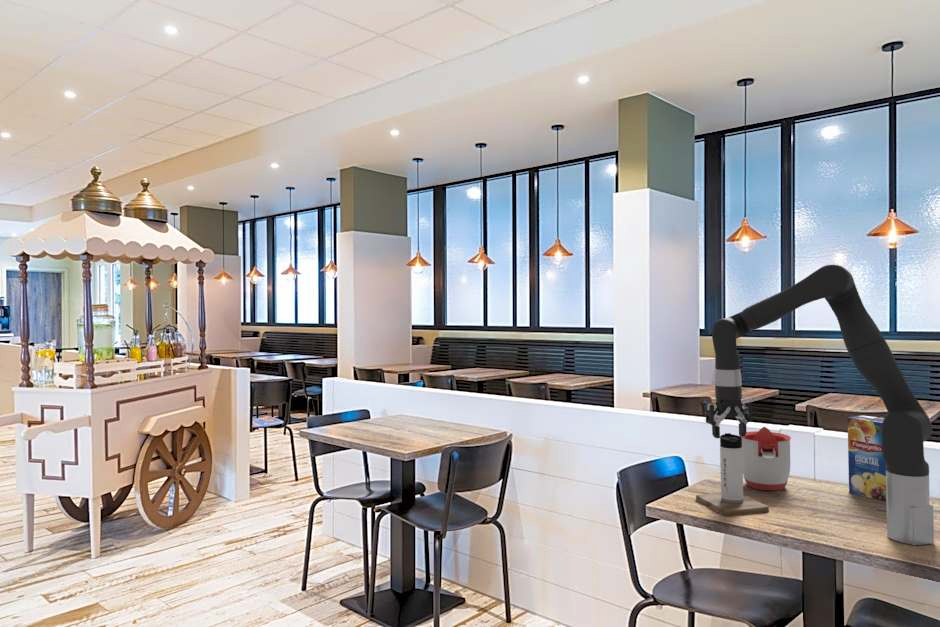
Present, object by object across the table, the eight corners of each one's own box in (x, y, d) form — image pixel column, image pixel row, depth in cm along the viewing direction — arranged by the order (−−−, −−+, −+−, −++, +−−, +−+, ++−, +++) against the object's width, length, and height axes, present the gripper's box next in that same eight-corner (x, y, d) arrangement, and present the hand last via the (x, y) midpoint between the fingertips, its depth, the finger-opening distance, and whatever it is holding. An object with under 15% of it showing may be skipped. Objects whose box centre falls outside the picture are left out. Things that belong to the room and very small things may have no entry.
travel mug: (739, 497, 199) (737, 433, 198) (746, 504, 192) (744, 437, 192) (718, 497, 199) (716, 433, 199) (724, 504, 193) (723, 437, 192)
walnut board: (768, 511, 189) (768, 506, 189) (725, 516, 187) (725, 510, 187) (736, 496, 205) (736, 491, 205) (696, 499, 202) (696, 495, 202)
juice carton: (901, 498, 198) (900, 420, 198) (886, 502, 195) (885, 423, 195) (863, 488, 209) (862, 415, 209) (848, 492, 206) (847, 417, 206)
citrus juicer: (743, 493, 208) (742, 431, 208) (738, 478, 224) (736, 421, 224) (797, 496, 203) (795, 433, 203) (787, 481, 220) (786, 423, 220)
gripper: (713, 386, 190) (715, 441, 190) (756, 384, 193) (758, 437, 193) (700, 383, 198) (701, 436, 198) (741, 381, 200) (743, 433, 201)
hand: (729, 437), depth 196 cm, fingers open, 8 cm apart
